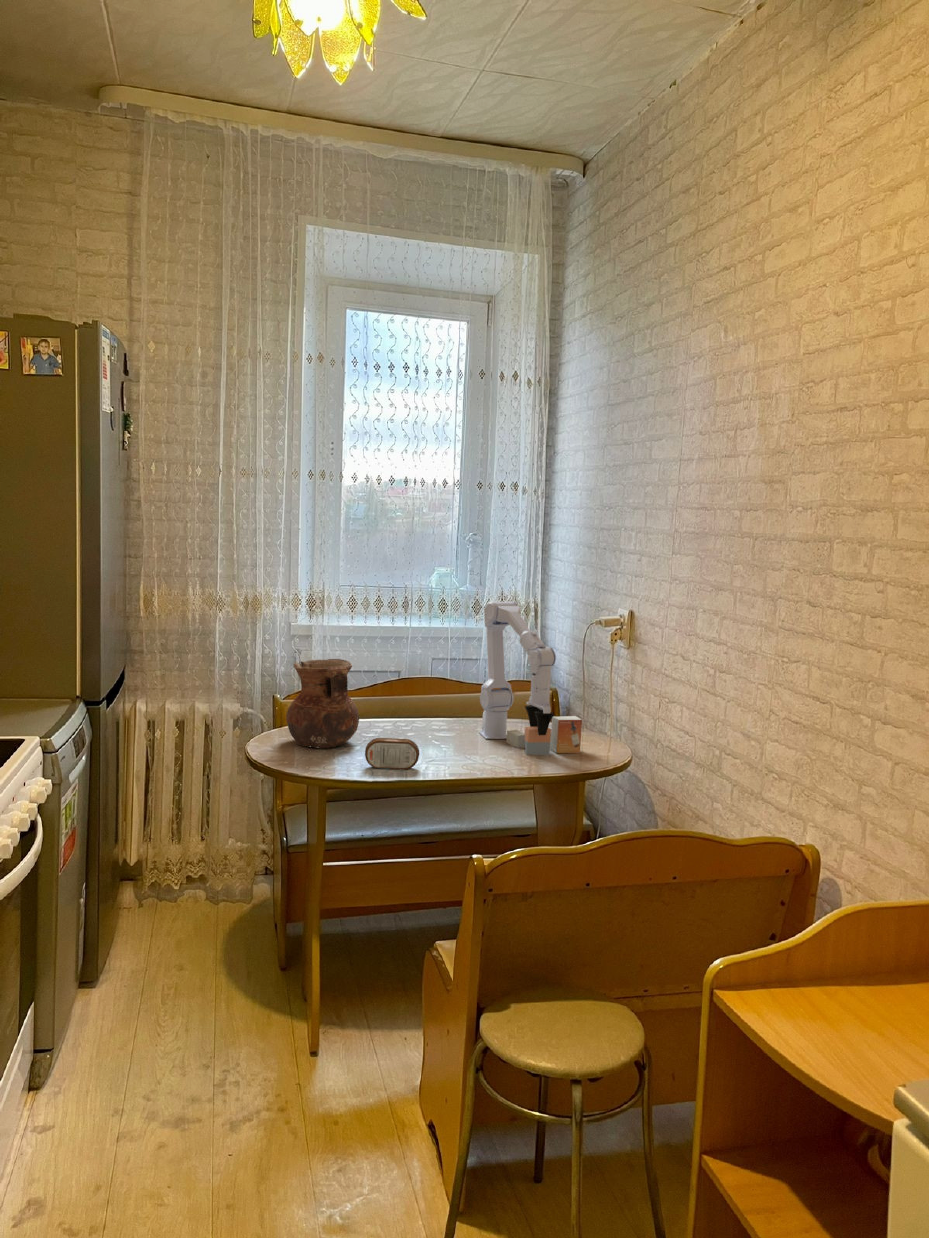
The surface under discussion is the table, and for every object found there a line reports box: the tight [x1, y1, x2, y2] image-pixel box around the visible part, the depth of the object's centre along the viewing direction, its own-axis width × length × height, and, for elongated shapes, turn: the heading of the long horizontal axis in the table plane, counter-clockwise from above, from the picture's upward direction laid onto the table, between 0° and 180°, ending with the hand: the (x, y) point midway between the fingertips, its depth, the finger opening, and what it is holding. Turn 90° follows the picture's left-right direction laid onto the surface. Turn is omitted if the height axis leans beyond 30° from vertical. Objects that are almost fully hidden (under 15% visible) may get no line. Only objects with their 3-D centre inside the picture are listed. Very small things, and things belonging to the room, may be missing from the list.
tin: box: [364, 737, 420, 771], centre depth 254 cm, size 15×3×8 cm, turn 93°
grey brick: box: [505, 729, 526, 749], centre depth 287 cm, size 4×7×4 cm, turn 27°
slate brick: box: [524, 741, 551, 756], centre depth 278 cm, size 4×7×4 cm, turn 93°
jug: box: [285, 658, 360, 749], centre depth 277 cm, size 22×21×25 cm
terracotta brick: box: [524, 726, 551, 743], centre depth 277 cm, size 4×7×4 cm, turn 105°
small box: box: [550, 715, 583, 754], centre depth 282 cm, size 8×6×10 cm
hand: (538, 732), depth 277 cm, fingers open, 7 cm apart
